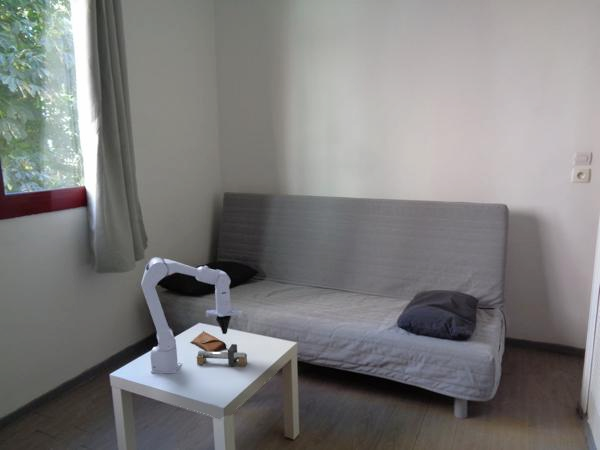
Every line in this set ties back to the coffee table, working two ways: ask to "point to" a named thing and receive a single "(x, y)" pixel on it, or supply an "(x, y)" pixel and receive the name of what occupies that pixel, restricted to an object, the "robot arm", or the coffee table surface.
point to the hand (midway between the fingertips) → (224, 333)
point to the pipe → (221, 357)
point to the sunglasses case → (208, 342)
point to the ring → (232, 354)
